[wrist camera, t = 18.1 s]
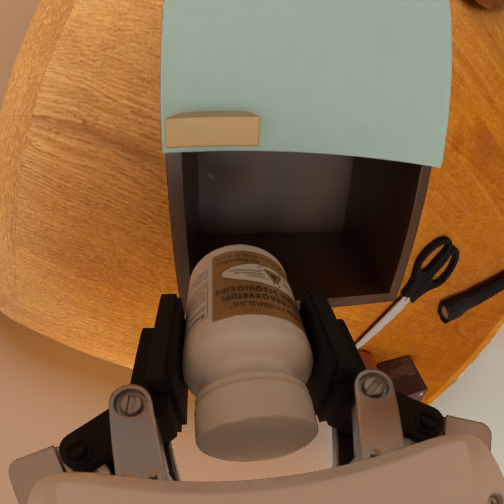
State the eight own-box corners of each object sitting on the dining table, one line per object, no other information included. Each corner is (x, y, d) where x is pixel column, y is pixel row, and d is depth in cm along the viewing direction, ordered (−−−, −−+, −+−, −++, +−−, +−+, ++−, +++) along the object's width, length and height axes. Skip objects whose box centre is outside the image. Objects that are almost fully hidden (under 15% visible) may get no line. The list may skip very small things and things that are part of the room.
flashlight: (439, 299, 35) (450, 312, 32) (509, 263, 34) (520, 273, 32) (436, 314, 36) (447, 327, 34) (505, 278, 36) (516, 288, 33)
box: (378, 362, 40) (396, 400, 33) (409, 354, 40) (429, 388, 34) (368, 385, 43) (383, 420, 37) (398, 377, 43) (414, 409, 37)
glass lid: (164, 151, 13) (142, 174, 9) (173, -64, 7) (160, -105, 3) (435, 165, 14) (482, 190, 11) (442, -12, 8) (489, -22, 5)
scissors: (362, 359, 38) (461, 254, 31) (364, 363, 38) (465, 257, 30) (331, 347, 36) (440, 227, 29) (333, 352, 35) (444, 231, 28)
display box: (192, 238, 27) (181, 314, 18) (187, 107, 21) (164, 114, 12) (345, 235, 28) (395, 301, 19) (361, 116, 22) (436, 136, 14)
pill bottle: (303, 264, 13) (367, 412, 7) (255, 329, 15) (279, 470, 8) (215, 224, 12) (218, 390, 5) (175, 301, 14) (158, 455, 7)
